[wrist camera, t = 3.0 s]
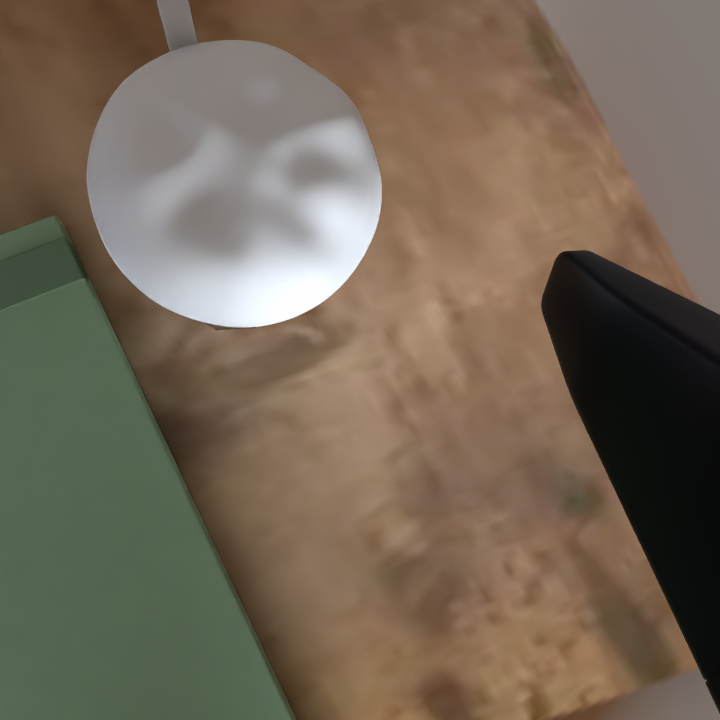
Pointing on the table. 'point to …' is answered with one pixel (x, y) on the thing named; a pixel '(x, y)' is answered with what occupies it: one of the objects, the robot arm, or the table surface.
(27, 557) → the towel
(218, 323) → the milkshake
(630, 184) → the table surface
